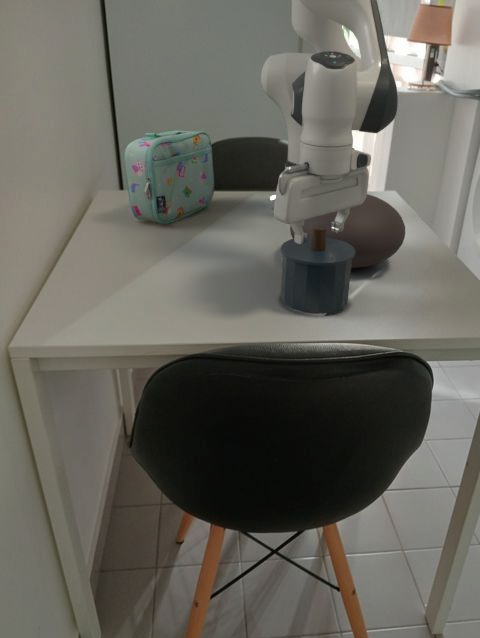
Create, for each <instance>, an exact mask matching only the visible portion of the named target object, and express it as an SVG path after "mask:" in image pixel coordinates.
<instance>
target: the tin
mask: <svg viewBox="0 0 480 638" xmlns="http://www.w3.org/2000/svg"><path fill="white" fill-rule="evenodd" d="M351 265H352V260H351V261H349V262H346V263H343V264H339V265H332V266H315V265H307V264H302V263H298V262H295V261H292V260H290V259H288V258H286V257H285V256H284V255H283V254H282V268H281V269H282V270H281V289H280V299H281V301H282V302H283V304H284V305H285V306H287V307H289V308H290V309H292V310H295V311H298V312H302V313H307V314H316V315H318V314H320V315H321V314H324V315H323V316H324V317H326V316H332V315H337V314H339V313H342V312H343V311H344V310H346V308H347V306H348V301H349V292H350V282H351V275H352V273H351V272H352V268H351Z"/></svg>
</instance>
